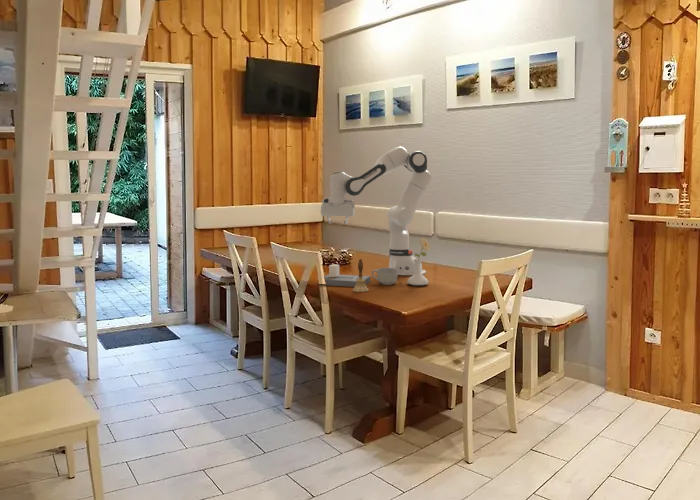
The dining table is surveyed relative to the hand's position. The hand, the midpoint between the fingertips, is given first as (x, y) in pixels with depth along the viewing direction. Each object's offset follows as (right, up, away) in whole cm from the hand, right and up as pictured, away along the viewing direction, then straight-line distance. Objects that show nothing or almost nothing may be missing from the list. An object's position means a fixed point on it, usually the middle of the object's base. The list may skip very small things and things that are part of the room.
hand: (337, 223), depth 357 cm
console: (+4, -33, -27) cm, 43 cm away
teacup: (+26, -34, -29) cm, 51 cm away
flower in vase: (+44, -34, -32) cm, 64 cm away
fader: (-1, -30, -25) cm, 39 cm away
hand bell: (+12, -36, -45) cm, 59 cm away
